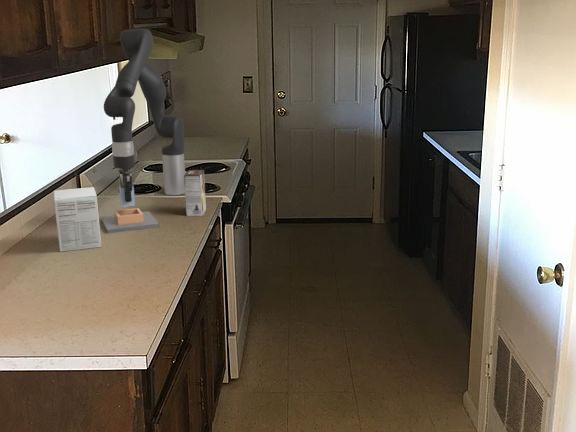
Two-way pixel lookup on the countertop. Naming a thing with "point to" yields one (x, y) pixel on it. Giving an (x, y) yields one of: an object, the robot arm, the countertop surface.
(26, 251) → the countertop surface
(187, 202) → the coffee box
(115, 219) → the socket dock
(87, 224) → the supplement box
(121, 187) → the plug
